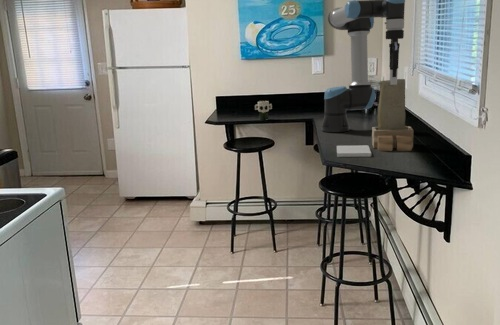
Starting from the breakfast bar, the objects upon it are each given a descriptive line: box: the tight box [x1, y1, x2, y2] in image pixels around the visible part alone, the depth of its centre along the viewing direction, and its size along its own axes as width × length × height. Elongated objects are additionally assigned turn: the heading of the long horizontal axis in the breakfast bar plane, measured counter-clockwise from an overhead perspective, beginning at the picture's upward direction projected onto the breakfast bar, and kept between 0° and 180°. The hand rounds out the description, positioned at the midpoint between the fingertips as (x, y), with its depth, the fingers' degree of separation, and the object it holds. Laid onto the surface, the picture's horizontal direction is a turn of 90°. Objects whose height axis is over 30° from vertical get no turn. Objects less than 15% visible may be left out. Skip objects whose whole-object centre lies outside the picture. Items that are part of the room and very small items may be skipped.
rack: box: [371, 125, 414, 149], centre depth 217 cm, size 10×17×8 cm, turn 81°
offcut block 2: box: [395, 135, 413, 152], centre depth 208 cm, size 4×6×6 cm, turn 81°
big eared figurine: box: [254, 100, 273, 121], centre depth 305 cm, size 11×7×13 cm, turn 92°
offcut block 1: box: [376, 136, 394, 152], centre depth 210 cm, size 4×6×6 cm, turn 81°
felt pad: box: [336, 144, 372, 158], centre depth 207 cm, size 16×14×2 cm
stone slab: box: [376, 78, 407, 130], centre depth 215 cm, size 12×4×30 cm, turn 85°
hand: (393, 84), depth 212 cm, fingers open, 3 cm apart
